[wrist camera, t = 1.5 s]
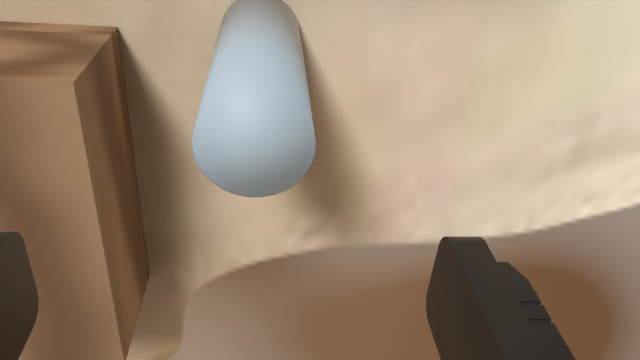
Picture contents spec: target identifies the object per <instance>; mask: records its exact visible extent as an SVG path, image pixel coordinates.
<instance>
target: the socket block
mask: <svg viewBox="0 0 640 360" xmlns="http://www.w3.org/2000/svg"><path fill="white" fill-rule="evenodd" d="M0 232H18V233H20V234H21V236H22V238H23V240H24V243H25V247H26V251H27V254H28V258H29V262H30V265H31V269H32V273H33V276H34V280H35V284H36V287H37V291H38V298H39V305H38V314H37V319H36V322H35V325H34V327H33V330H32V332H31V334H30V336H29V338H28V340H27V342H26V344H25V347H24V349H23V351H22V353H21V355H20V357H19V359H18V360H126V357H127V354H128V350H129V346H130V343H131V339H132V336H133V332H134V328H135V325H136V321H137V318H138V314H139V310H140V307H141V303H142V299H143V296H144V292H145V289H146V285H147V281H148V278H149V272H148V264H147V256H146V249H145V241H144V233H143V225H142V217H141V210H140V202H139V194H138V186H137V178H136V170H135V163H134V155H133V147H132V139H131V131H130V123H129V116H128V108H127V100H126V92H125V84H124V76H123V69H122V61H121V53H120V45H119V37H118V30H117V27H100V26H80V25H60V24H39V23H19V22H0Z"/></svg>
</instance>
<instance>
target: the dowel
mask: <svg viewBox="0 0 640 360" xmlns="http://www.w3.org/2000/svg"><path fill="white" fill-rule="evenodd" d="M192 148H193V154H194V157H195V160H196V162H197V164H198V166H199V168H200V169H201V171H202V172H203V173H204V175H205V176H206V177H207V178H208V179H209V180H210V181H211V182H212V183H214V184H215V185H217V186H218V187H220V188H221V189H223V190H225V191H228V192H230V193H233V194H236V195H240V196H245V197H265V196H271V195H275V194H278V193H281V192H283V191H285V190H287V189H289V188H291V187H292V186H294V185H295V184H296V183H297V182H299V181H300V180H301V179H302V178H303V177H304V175H305V174H306V173H307V171H308V170H309V168H310V166H311V164H312V162H313V159H314V156H315V150H316V139H315V132H314V125H313V119H312V112H311V105H310V98H309V91H308V84H307V77H306V70H305V63H304V56H303V50H302V43H301V36H300V29H299V24H298V21H297V18H296V16H295V14H294V13H293V11H292V10H291V9H290V7H289V6H288V5H287V4H285V3H284V2H283V1H281V0H237V1H236V2H235V3H233V4H232V5H231V6H230V7H229V9H228V10H227V12H226V13H225V15H224V17H223V20H222V24H221V28H220V31H219V35H218V39H217V43H216V47H215V50H214V54H213V58H212V62H211V66H210V69H209V73H208V77H207V81H206V85H205V88H204V92H203V96H202V100H201V104H200V107H199V111H198V115H197V119H196V123H195V126H194V130H193V136H192Z"/></svg>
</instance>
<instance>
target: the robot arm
mask: <svg viewBox="0 0 640 360" xmlns="http://www.w3.org/2000/svg"><path fill="white" fill-rule="evenodd" d="M540 302H541V301H540V299H539V298H538V296H537V294H536V292H535V291H534V289H533V287H532V286H531V284H530V283H529V281H528V280H527V279H526V278H525V277H524V276H523V275H521V274H520V273H519V272H518V271H517V270H516V269H515V268H514V267H512V266H511V265H510V264H509V263H508V262H496V260H495V258H494V256H493V255H492V253H491V251H490V249H489V248H488V245H487V244H486V242H485V240H484V239H483V238H481V237H443V238H442V239H441V241H440V243H439V247H438V251H437V255H436V259H435V263H434V267H433V271H432V275H431V279H430V283H429V287H428V291H427V298H426V310H427V318H428V322H429V325H430V329H431V331H432V334H433V337H434V340H435V343H436V346H437V349H438V352H439V355H440V358H441V360H575V358H574V356H573V355H572V353H571V351H570V350H569V348H568V346H567V345H566V343H565V341H564V340H563V338H562V336H561V335H560V333H559V331H558V329H557V328H556V326H555V324H554V323H551V318H550V316H549V314H548V313H547V311H546V309H545V308H544V306H543V305H541V304H540ZM38 305H39V298H38V291H37V287H36V284H35V280H34V276H33V273H32V269H31V265H30V262H29V258H28V254H27V251H26V247H25V243H24V240H23V238H22V236H21V234H20V233H18V232H0V360H18V359H19V357H20V355H21V353H22V351H23V349H24V347H25V344H26V342H27V340H28V338H29V336H30V334H31V332H32V330H33V327H34V325H35V322H36V319H37V314H38Z"/></svg>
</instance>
